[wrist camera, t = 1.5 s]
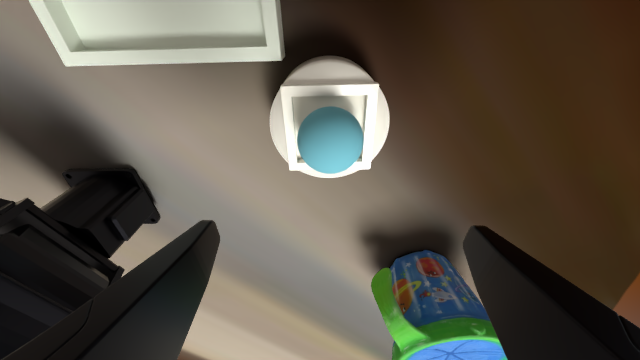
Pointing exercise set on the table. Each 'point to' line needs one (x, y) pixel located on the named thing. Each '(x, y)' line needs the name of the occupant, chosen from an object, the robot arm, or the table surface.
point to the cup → (322, 91)
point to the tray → (162, 31)
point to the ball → (330, 140)
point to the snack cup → (433, 311)
